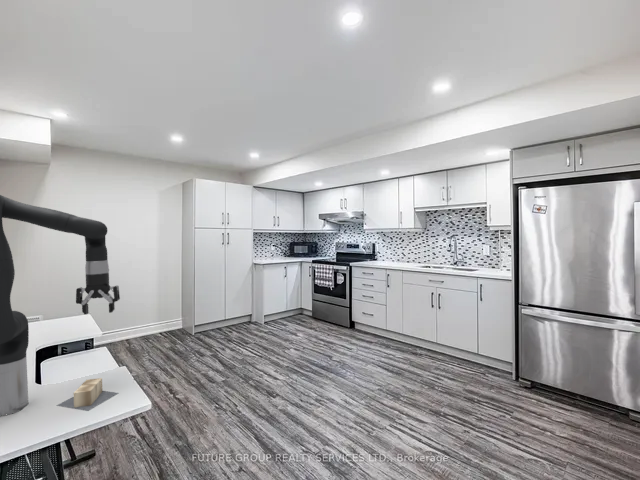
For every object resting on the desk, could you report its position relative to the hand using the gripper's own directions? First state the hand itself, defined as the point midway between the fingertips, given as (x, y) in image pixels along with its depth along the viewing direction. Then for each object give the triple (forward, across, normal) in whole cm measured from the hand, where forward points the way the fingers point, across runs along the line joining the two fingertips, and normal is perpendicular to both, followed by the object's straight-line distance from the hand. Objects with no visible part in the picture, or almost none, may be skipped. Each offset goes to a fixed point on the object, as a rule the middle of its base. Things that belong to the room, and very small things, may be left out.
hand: (98, 313), depth 127 cm
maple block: (+25, +1, -9) cm, 26 cm away
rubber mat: (+28, +1, -14) cm, 31 cm away
